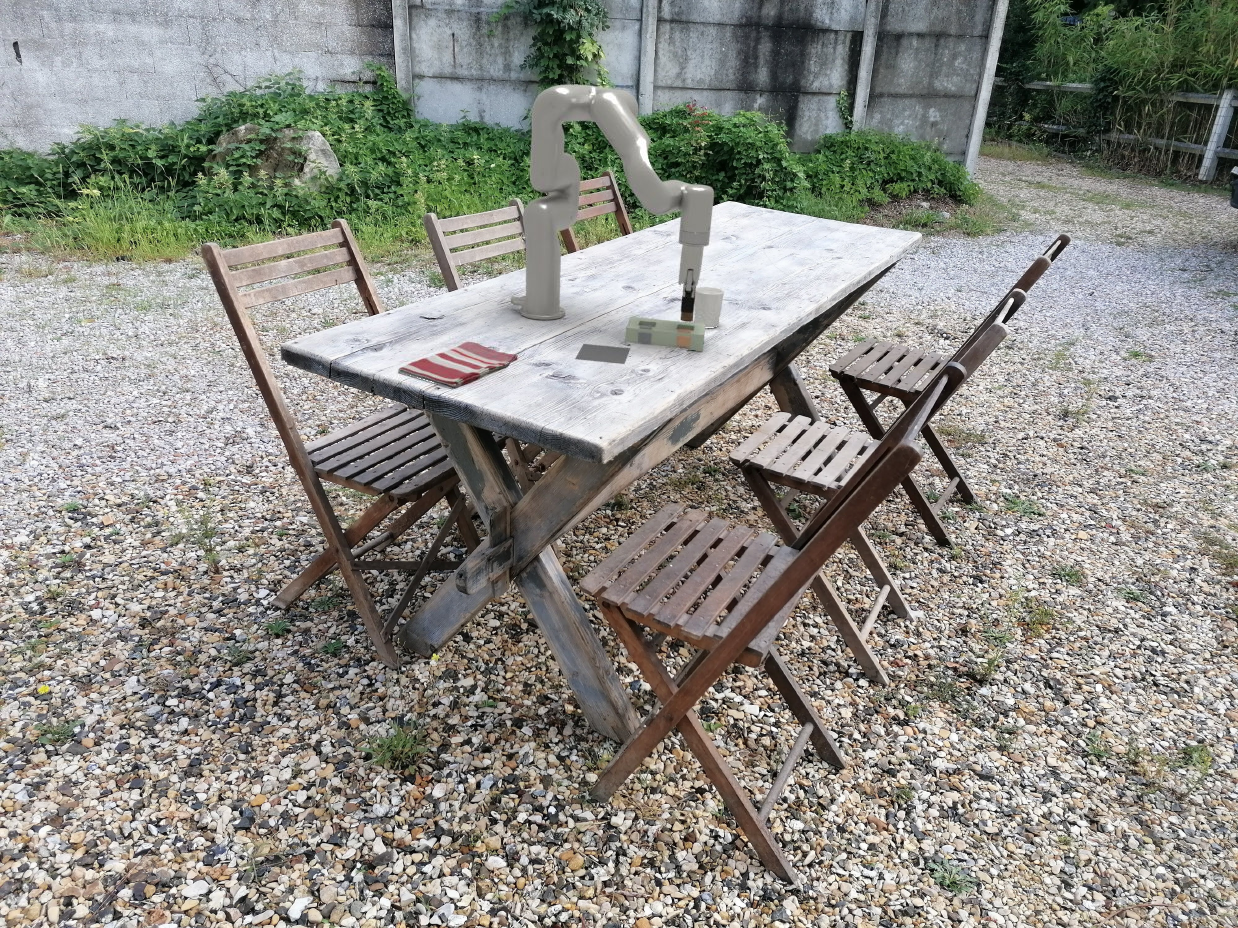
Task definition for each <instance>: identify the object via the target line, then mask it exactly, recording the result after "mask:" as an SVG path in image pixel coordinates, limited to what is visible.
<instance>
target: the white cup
mask: <svg viewBox="0 0 1238 928" xmlns="http://www.w3.org/2000/svg"><path fill="white" fill-rule="evenodd" d="M695 293H696V294H695V304H694V314H693V323H702V324H706V326H705V327H716V326H718V327H719V321H720V317H721V311H722V308H723V301H724V300H723V299H724V293H725V291H724V290H723V289H722V288H718V287H714V286H699V287H696V292H695Z"/></svg>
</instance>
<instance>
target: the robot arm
mask: <svg viewBox="0 0 1238 928" xmlns="http://www.w3.org/2000/svg"><path fill="white" fill-rule="evenodd" d="M638 104H639V103H638V101H637V99H636V98H635V96H634V95H633V94H632V93H631V92H629V91H626V90H623V89H614V88H607V87H601V86H594V85H590V84H589V85H588V84H560V85H559V84H558V85H554V86H551V87H548V88H546V89H545V90H543V91H542V92H540V93H539V94H538V96H537V97H536V98H535V100H534V103H533V104H532V105H533V106H532V107H531V141H530V142H531V144H530V164H529V180H530V184H531V186H532V188H533V189H534V190H535V191H537V192H540V193H546V194H547V193H548V195H546V196H542V197H537V198H535V199H533V200H531V201H529V203H527V204H526V206H525V208H524V210H523V212H522V224H523V230H524V237H525V296H523V295H522V297H520V296H519V297H518V296H514V295H513V296H511V297H510V303H511V304H512V305H513V306H521V307H520V308H519V314H520V315H521V316H522V317H525V318H527V319H533V320H542V321H546V320H548V321H549V320H556V319H560V318H563V317H564V316H566V309H564V308H563V307H562V306H560V304H561V302H560V301H561V300H560V299H561V298H560V297H561V265H562V263H561V262H562V258H561V257H562V250H561V249H562V248H561V243H560V240H559V235H558V232H561V231H565V230H567V229H569V228H571V227H572V226H573V225H575V222H576V221H577V219H578V215H579V206H580V205H579V204H580V192H581V191H580V190H581V178H582V177H581V176H582V175H581V169H580V166H579V163H578V161H577V159H576V158H575V157H574V156H573V155H572V154H570V153H568V152H565V142H566V141H565V133H564V129H563V125H562V124H564V123H567V122H593V123H596V125H597V127H598V128H599V130H600V131H601V132H602V134H603V135H604V137H605V138H606V140H607V141H608V142H609V143H610V145H611V146H612V148H613V150H614V151H615V152H616V154H617V155H618V157H619V158H620V159H621V162H622V168H623V171H624V175H625V178H626V181H627V183H628V186H629V188H630V190H631V191H632V193H633V194H634V195H635V196H636V198H637V199H638V200H637V201H639V202H640V204H641V205H642V206H643V207H644V209H645V210H646V211H648V212H649V213H651V214H652V215H655V216H659V217H660V216H665V215H668V214H671V213H676V212H681V213H680V221H679V223H680V225H679V234H678V244H680V245H682V247H681V252H680V262H679V274H678V282H677V284H678V285H679V286H681V285H683V284H684V290H683V289H682V296H681V302H680V303H681V305H680V313H681V312H685V313H693V310H694V308H695V303H694V300H695V297H694V290H695V286H696V287H697V286H698V284H699V281H700V277H701V270H702V266H703V258H704V257H703V256H704V247H707V246H709V245H710V238H711V237H710V236H711V226H712V218H713V206H714V197H715V192H714V189H713V187H712V186H709V185H704V184H698V183H697V184H695V183H694V184H691V183H687V182H684V181H682V180H678V179H670V180H666V181H663V180H661V178H660V177H659V175H658V174H657V173H656V171H655V170H654V169H653V168H654V167H652V164H651V162H650V159H649V147H650V145H651V137H650V136H649V135H648V133H647V132H646V131H645V129H644V127H643V126H642V125H641V123H640V122H639V121H638V119H637V118H638V115H639V105H638ZM686 282H687V284H686ZM692 283H694V284H693V285H692ZM691 288H692V289H691ZM695 294H696V293H695Z"/></svg>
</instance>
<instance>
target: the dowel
mask: <svg viewBox="0 0 1238 928" xmlns="http://www.w3.org/2000/svg"><path fill="white" fill-rule="evenodd" d="M686 284H687V282H686ZM693 284H694V283H692V285H693ZM682 285H683V286H682V291H683V290H684V283H683V284H682ZM696 288H697V286H695V290H694V297H695V292H696ZM691 289H692V288H691ZM694 303H695V300H694ZM680 321H681V322H691V323H692V322H694V310H693V313H685V312H681V311H680Z"/></svg>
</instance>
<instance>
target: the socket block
mask: <svg viewBox="0 0 1238 928" xmlns="http://www.w3.org/2000/svg"><path fill="white" fill-rule="evenodd" d="M705 326H706V324H702V323H694V322H692V321H691V322H685V321H681V320H679V321H678V320H669V319H668V320H666V319H658V318H657V319H656V318H649V317H648V318H647V317H635V316H630V318H629V319H628V322H627V323H626V327H625V335H624V336H625V339H624V342H625V343H634V344H643V345H644V344H645V345H653V346H654V345H655V346H666V347H674V348H676V347H677V348H685V349H686V350H687V349H688V350H696V351H695V352H697V351H702V352H703V351H704V350H703V349H704V344H703V343H704V342H705V333H706V328H705Z"/></svg>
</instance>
